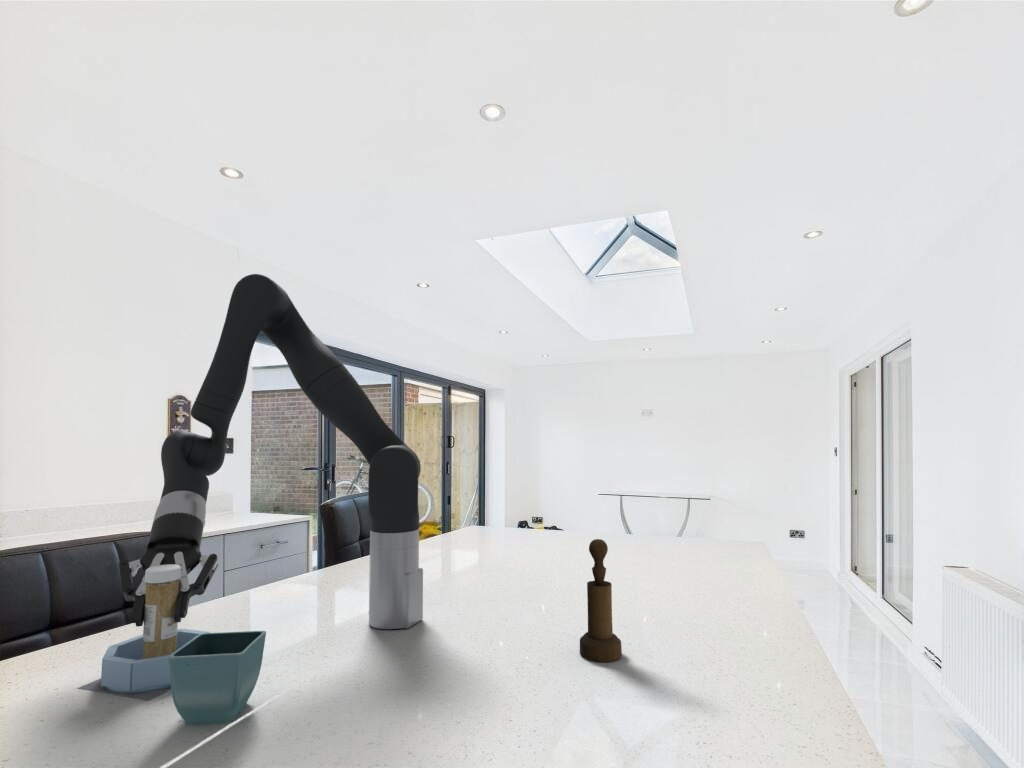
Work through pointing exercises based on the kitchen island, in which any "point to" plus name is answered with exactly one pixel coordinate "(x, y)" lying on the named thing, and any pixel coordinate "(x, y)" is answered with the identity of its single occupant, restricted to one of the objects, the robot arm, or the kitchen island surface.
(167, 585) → the sprinkles bottle
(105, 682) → the bowl
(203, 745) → the kitchen island surface
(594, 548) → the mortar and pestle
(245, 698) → the flower pot
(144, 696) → the mat
